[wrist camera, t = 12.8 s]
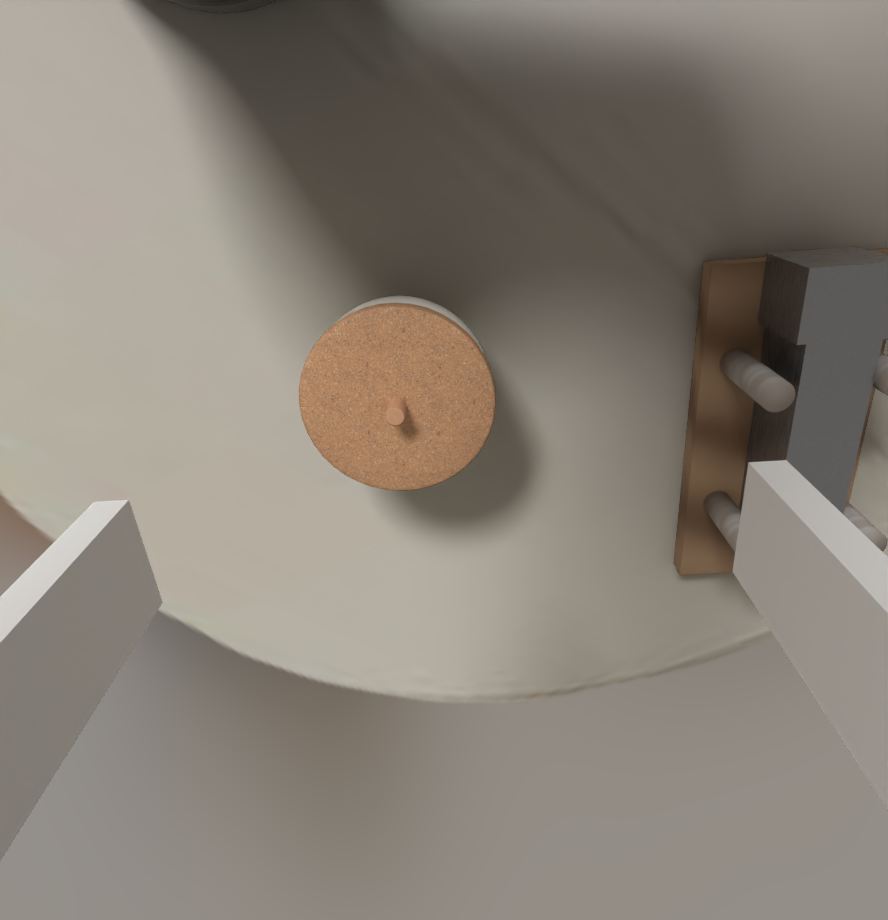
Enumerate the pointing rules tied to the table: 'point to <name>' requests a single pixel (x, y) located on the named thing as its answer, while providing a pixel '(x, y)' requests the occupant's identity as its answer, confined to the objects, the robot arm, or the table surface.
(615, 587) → the table surface
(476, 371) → the lidded jar
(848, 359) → the grey notched bar
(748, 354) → the rack
